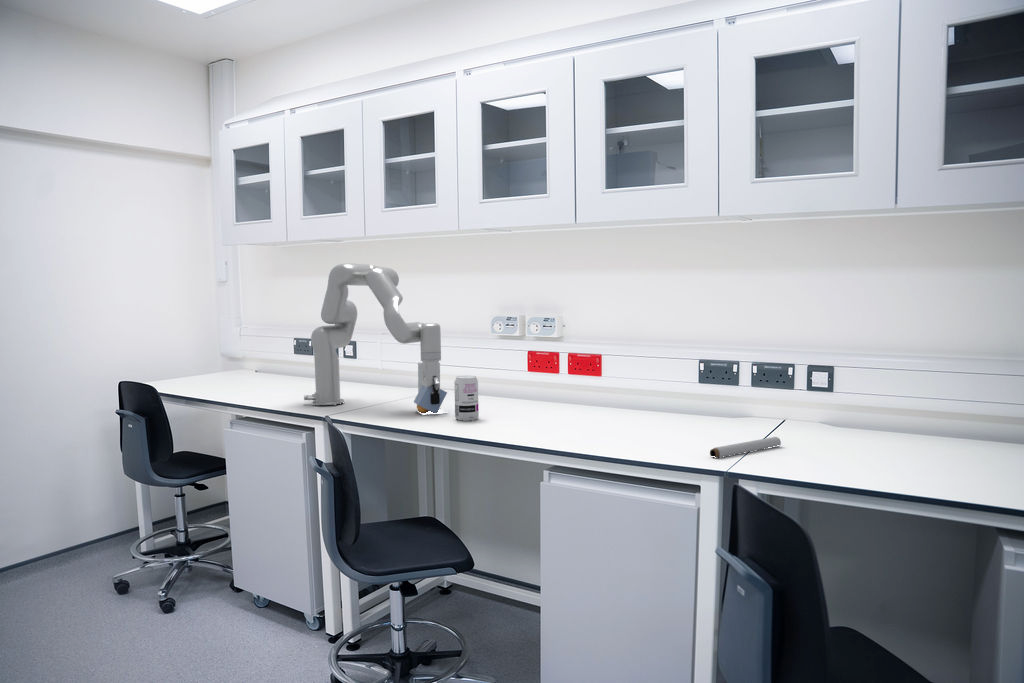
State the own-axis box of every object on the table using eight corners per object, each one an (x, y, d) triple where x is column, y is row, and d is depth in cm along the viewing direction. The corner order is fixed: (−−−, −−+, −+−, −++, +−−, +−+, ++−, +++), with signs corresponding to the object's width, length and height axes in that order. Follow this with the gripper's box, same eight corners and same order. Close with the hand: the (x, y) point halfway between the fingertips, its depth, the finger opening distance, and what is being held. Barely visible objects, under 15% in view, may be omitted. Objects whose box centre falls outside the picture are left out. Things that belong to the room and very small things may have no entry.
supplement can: (465, 416, 239) (464, 374, 238) (483, 418, 234) (482, 376, 233) (450, 419, 232) (449, 377, 231) (468, 422, 227) (468, 379, 226)
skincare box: (422, 398, 279) (421, 363, 278) (417, 396, 284) (416, 362, 283) (441, 396, 283) (440, 362, 281) (436, 394, 288) (435, 360, 287)
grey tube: (717, 460, 175) (781, 448, 187) (717, 449, 175) (781, 437, 187) (708, 458, 178) (772, 446, 190) (708, 447, 177) (772, 435, 189)
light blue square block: (418, 405, 241) (429, 383, 242) (413, 401, 248) (424, 380, 249) (436, 413, 243) (447, 392, 244) (431, 410, 251) (441, 389, 251)
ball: (432, 402, 244) (429, 415, 244) (430, 399, 248) (427, 412, 249) (419, 399, 242) (416, 413, 242) (417, 397, 247) (414, 410, 247)
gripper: (415, 354, 252) (416, 399, 253) (426, 359, 236) (427, 406, 237) (434, 354, 255) (435, 398, 256) (446, 358, 239) (447, 405, 240)
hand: (431, 402), depth 247 cm, fingers open, 9 cm apart
